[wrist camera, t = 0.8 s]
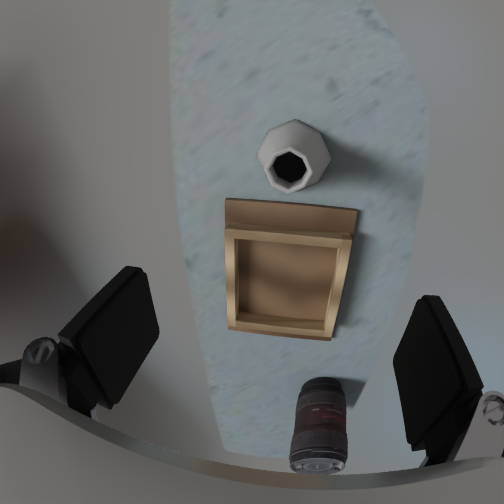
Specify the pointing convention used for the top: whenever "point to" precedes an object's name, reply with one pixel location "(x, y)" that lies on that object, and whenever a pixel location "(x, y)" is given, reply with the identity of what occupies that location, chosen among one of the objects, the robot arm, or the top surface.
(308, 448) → the camera lens
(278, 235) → the shaker holder
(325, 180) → the top surface
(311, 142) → the flask
